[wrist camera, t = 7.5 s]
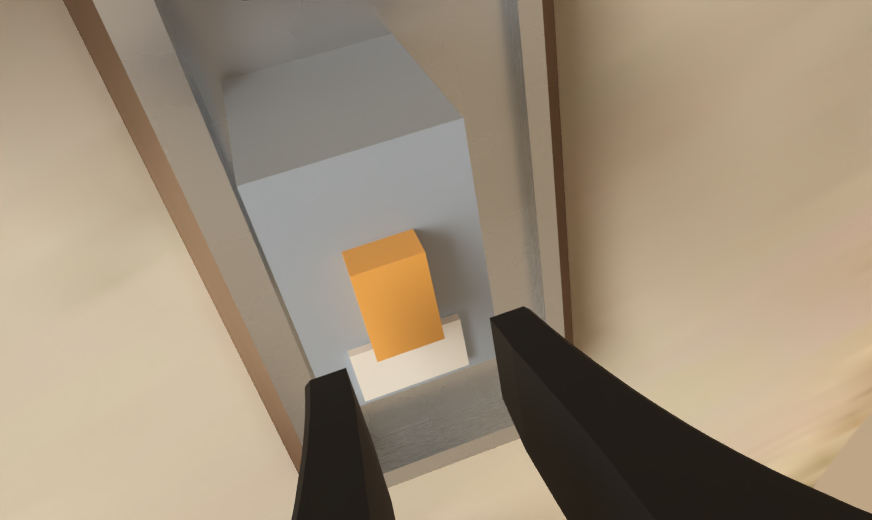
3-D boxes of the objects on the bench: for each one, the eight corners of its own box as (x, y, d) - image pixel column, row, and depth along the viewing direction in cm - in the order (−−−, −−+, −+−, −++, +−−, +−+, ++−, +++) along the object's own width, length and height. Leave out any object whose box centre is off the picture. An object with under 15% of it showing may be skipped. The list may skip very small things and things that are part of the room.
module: (391, 33, 16) (479, 136, 11) (435, 239, 19) (514, 380, 15) (221, 81, 15) (239, 211, 11) (299, 283, 19) (338, 444, 14)
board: (498, -626, 12) (516, -649, 11) (567, 380, 28) (576, 394, 27) (-188, -533, 10) (-212, -552, 9) (305, 476, 26) (308, 493, 25)
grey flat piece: (474, -464, 12) (528, -508, 10) (549, 369, 26) (579, 415, 24) (-51, -373, 11) (-99, -405, 9) (319, 452, 24) (331, 508, 22)
